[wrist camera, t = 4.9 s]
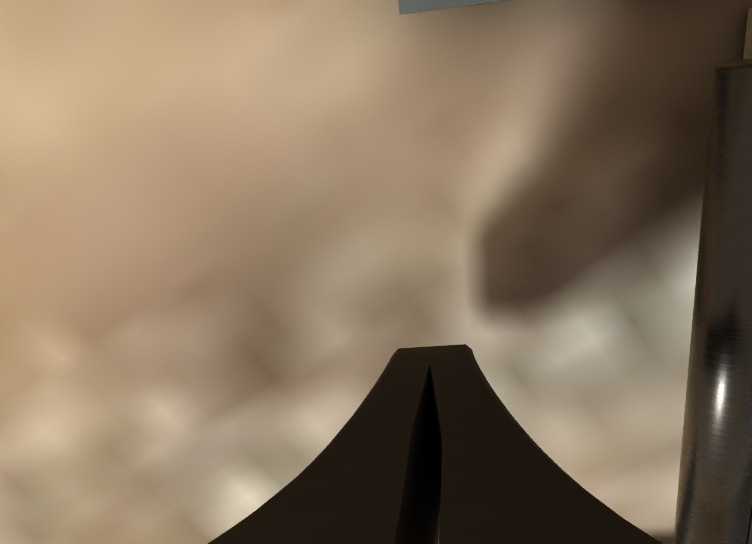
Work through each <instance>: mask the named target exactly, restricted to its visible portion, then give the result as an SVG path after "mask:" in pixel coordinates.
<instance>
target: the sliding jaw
mask: <svg viewBox="0 0 752 544" xmlns="http://www.w3.org/2000/svg"><path fill="white" fill-rule="evenodd" d="M673 544H752V8H748V17H747V27H746V37H745V47H744V56H743V59H742V60H735V61H729V62H724V63H720V64H717V65H715V66H714V76H713V88H712V100H711V111H710V123H709V135H708V146H707V158H706V170H705V181H704V193H703V205H702V216H701V228H700V240H699V251H698V263H697V275H696V286H695V298H694V310H693V321H692V333H691V345H690V356H689V368H688V380H687V391H686V403H685V415H684V426H683V438H682V450H681V461H680V473H679V485H678V496H677V508H676V520H675V531H674V543H673Z"/></svg>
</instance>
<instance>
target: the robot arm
mask: <svg viewBox="0 0 752 544" xmlns="http://www.w3.org/2000/svg"><path fill="white" fill-rule="evenodd" d="M439 529H440V530H439ZM438 541H439V544H662V543H661V542H659V541H657V540H656V539H654V538H653V537H651V536H650V535H648V534H647V533H645V532H643V531H642V530H640V529H639V528H637V527H636V526H634V525H633V524H631V523H630V522H628V521H626V520H625V519H623V518H622V517H621V516H619V515H618V514H617V513H615V512H614V511H613V510H611V509H610V508H609V507H607V506H606V505H605V504H603V503H602V502H601V501H599V500H598V499H597V498H595V497H594V496H593V495H592V494H590V493H589V492H588V491H586V490H585V489H584V488H583V487H581V486H580V485H579V484H578V483H577V482H576V481H575V480H573V479H572V478H571V477H570V476H569V475H568V474H567V473H565V472H564V471H563V470H562V469H561V468H560V467H559V466H558V465H557V464H556V463H555V462H554V461H553V460H552V459H551V458H550V457H549V456H548V455H547V454H546V453H545V452H544V451H543V450H542V449H541V448H540V447H539V446H538V445H537V444H536V443H535V442H534V441H533V440H532V439H531V438H530V436H529V435H528V434H527V433H526V432H525V431H524V429H523V428H522V427H521V426H520V425H519V424H518V422H517V421H516V420H515V419H514V417H513V416H512V415H511V414H510V412H509V411H508V410H507V409H506V407H505V406H504V404H503V403H502V402H501V400H500V399H499V397H498V396H497V395H496V393H495V392H494V390H493V389H492V387H491V386H490V384H489V383H488V381H487V380H486V378H485V376H484V375H483V373H482V371H481V369H480V368H479V366H478V364H477V362H476V360H475V357H474V355H473V352H472V349H470V348H469V347H468V346H467V345H466V344H464V345H448V346H432V347H415V348H399V349H398V350H397V351H396V352H395V353H394V354H393V356H392V357H391V359H390V361H389V363H388V364H387V366H386V368H385V369H384V371H383V373H382V374H381V376H380V377H379V379H378V380H377V382H376V384H375V385H374V387H373V388H372V390H371V391H370V392H369V394H368V395H367V397H366V398H365V399H364V401H363V402H362V404H361V405H360V406H359V408H358V409H357V410H356V412H355V413H354V414H353V416H352V417H351V418H350V419H349V421H348V422H347V423H346V424H345V425H344V427H343V428H342V429H341V430H340V432H339V433H338V434H337V435H336V436H335V438H334V439H333V440H332V441H331V442H330V443H329V445H328V446H327V447H326V448H325V449H324V450H323V451H322V452H321V453H320V454H319V455H318V456H317V457H316V458H315V460H314V461H313V462H312V463H311V464H310V465H309V466H308V467H306V468H305V469H304V470H303V471H302V472H301V473H300V474H299V475H298V476H297V477H296V478H295V479H294V480H293V481H291V482H290V483H289V484H288V485H287V486H285V487H284V488H283V489H282V490H280V491H279V492H278V493H277V494H276V495H274V496H273V497H272V498H271V499H269V500H268V501H267V502H266V503H264V504H263V505H262V506H261V507H260V508H258V509H257V510H256V511H254V512H253V513H252V514H250V515H249V516H248V517H246V518H245V519H243V520H242V521H241V522H239V523H238V524H236V525H235V526H234V527H232V528H231V529H229V530H228V531H226V532H225V533H223V534H222V535H220V536H219V537H217V538H216V539H214V540H212V541H211V542H209V543H208V544H438Z"/></svg>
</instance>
